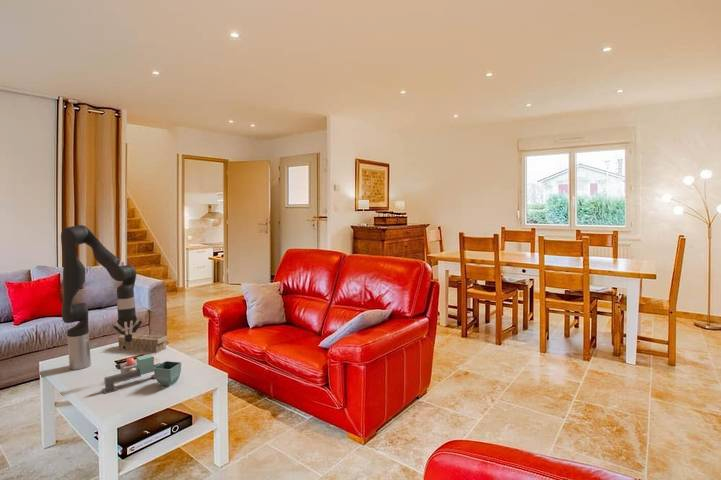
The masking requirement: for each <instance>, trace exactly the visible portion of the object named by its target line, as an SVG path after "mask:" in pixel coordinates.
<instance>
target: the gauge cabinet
mask: <svg viewBox="0 0 721 480" xmlns="http://www.w3.org/2000/svg"><path fill="white" fill-rule="evenodd" d="M119 366H120V373H124V372H128V371H132V370H136V369H137V360H134V365H131V366H127V363H126V362H125V363H121V364H120V365H119ZM139 377H142V375H139V376H135V377H132V378H128V379H124V381H128V380H132V379H136V378H139Z"/></svg>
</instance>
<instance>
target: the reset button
mask: <svg viewBox="0 0 721 480" xmlns="http://www.w3.org/2000/svg"><path fill="white" fill-rule="evenodd" d="M125 361H126V362H125V363H127V366H131V365H134V361H135V357H129V358H126V359H125Z"/></svg>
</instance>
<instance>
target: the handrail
mask: <svg viewBox="0 0 721 480" xmlns="http://www.w3.org/2000/svg"><path fill="white" fill-rule="evenodd" d="M160 364H161V362H159V363H156V364H155V363H154V368H155V367H156V366H158V365H160ZM152 372H154V371H152ZM152 372H148V373H145V374H140V370H139V369H136V370H132V371H128V372H124V373H121V372H120V373H116V374H114V375H110V376H106V377H104V378H103V379H104V388H102V389H101V391H102V392H103V393H104V395H106V394H109V393H112V392H116V391H118V387H116V386H115V384H114V383H116V382H117V383H118V382H120V381H123V380H124V379H128V378H132V377H135V376H139V375H141V376H143V375H146V374H150V373H152ZM151 378H153V379H154V380H156V377H155V373H154V374H151ZM124 381H125V380H124Z"/></svg>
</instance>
